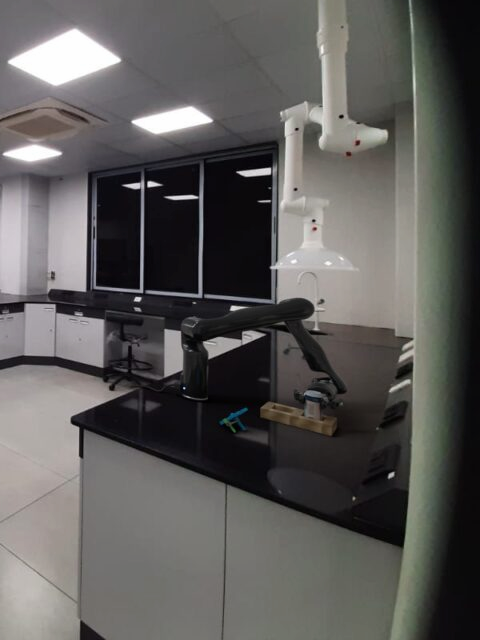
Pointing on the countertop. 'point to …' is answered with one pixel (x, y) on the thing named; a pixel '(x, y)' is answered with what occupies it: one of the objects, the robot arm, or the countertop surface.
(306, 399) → the beer can
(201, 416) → the countertop surface
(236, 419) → the blue-green rod frame
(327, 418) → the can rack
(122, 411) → the countertop surface
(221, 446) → the countertop surface
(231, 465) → the countertop surface
